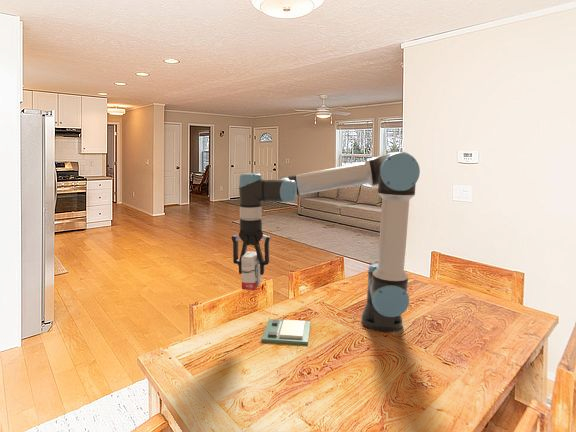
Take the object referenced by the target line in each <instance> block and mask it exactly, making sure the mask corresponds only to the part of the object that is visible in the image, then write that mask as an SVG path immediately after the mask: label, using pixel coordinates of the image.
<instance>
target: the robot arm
mask: <svg viewBox="0 0 576 432" xmlns="http://www.w3.org/2000/svg"><path fill="white" fill-rule="evenodd" d="M420 173H421V171H420V165H419V163H418V161H417V159H416V158H415V157H414V156H413V155H411V154H410V153H408V152H405V151H391V152H387V153H385V154H381V155H379V156H376V157H372V158H367V159H366V160H365V161H364V162H360V163H353V164H350V165H343V166H338V167H331V168H328V169H320V170H316V171H310V172H306V173H305V172H304V173H300V174H296V175H289V176H286V175H285V176H281V177H279V178H277V179H263V178H262V175H261V174H260V173H256V172H254V173H252V172H251V173H246V172H245V173H242V174H240V175H239V183H238V184H239V185H238V191H239V218H240V220H239V232H238V234H234V235H232V236H231V240H232V243H233V244H232V257H233V258H232V260H233V264H234V265H235V264H236V265H238V274H239V275H242V263H241V258H242V256H243V255H244V254H245V253H246V252H247V248H248V246H253V247H254V249H255V252H256V253H257V257H258V260H259V265H258V284H259V286H260V285H261V284H262V276H263V275H264V274H265V266H267V265H269V263H270V241H271V235H266V234H264V232H263V229H262V228H263V226H262V222H263V221H262V219H261V218H262V214H263V213H262V210H263V208H262V202H265V203H266V202H270V203H272V202H273V203H274V202H276V203H284V204H285V203H293V202H295V201H296V200H297V197H298V196H302V195H307V194H313V193H318V192H319V193H320V192H324V191H330V190H335V189H336V190H337V189H342V188H348V187H354V186H355V187H356V186H360V185H367V184H369V185H370V186H377V194H378V195H379V196H380V198H381V211H380V212H381V213H380V227H379V241H378V257H377V263H372V264H370V265H369V266H368V271H367V273H368V274H367V293H366V294H367V295H366V296H367V297H366V304H365V307H364V309H363V312H362V314H361V323H362V325H363V326H364V327H365V328H367V329H370V330H373V331H376V332H383V333H392V332H396V331H399V330H401V329H402V327H403V317H402V314H404V313H405V312H406V311H407V310H408V308H409V305H410V297H409V296H410V295H409V293H408V286H409V285H408V284H409V283H408V282H409V274H407V272H405V261H406V260H405V259H406V246H407V235H408V224H409V223H408V221H409V209H410V200H411V199H412V198H413V197H415V195H416V187H417V185H416V184H417V183H418V180H419V178H420ZM239 240H241V241H242V246H241V252H240V255H239ZM261 240H263V242H264V243H263V244H264V256H263V252H262V248H261V244H260V241H261Z"/></svg>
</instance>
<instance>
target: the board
mask: <svg viewBox="0 0 576 432" xmlns="http://www.w3.org/2000/svg"><path fill="white" fill-rule="evenodd" d="M310 330H311V320H310V321H309V320H296V319H295V320H294V319H277V318H276V319H275V318H268V321H267V322H266V325H265V328H264V331H263V333H262V337H261V340H260V341H261V343H275V344H293V345H306V346H307V345H309V340H310V339H309V337H310V333H311V331H310Z"/></svg>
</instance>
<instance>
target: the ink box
mask: <svg viewBox="0 0 576 432" xmlns="http://www.w3.org/2000/svg"><path fill="white" fill-rule="evenodd" d="M241 263H242V274H241V290H243V291H244V290H247V291H256V290H257V288H258V287H259V286H260V285H259V284H258V265H259V260H258V257H257V253H256V251H250V250H248V251H246V253H245V254H244V255H243V256H242V258H241Z"/></svg>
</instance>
